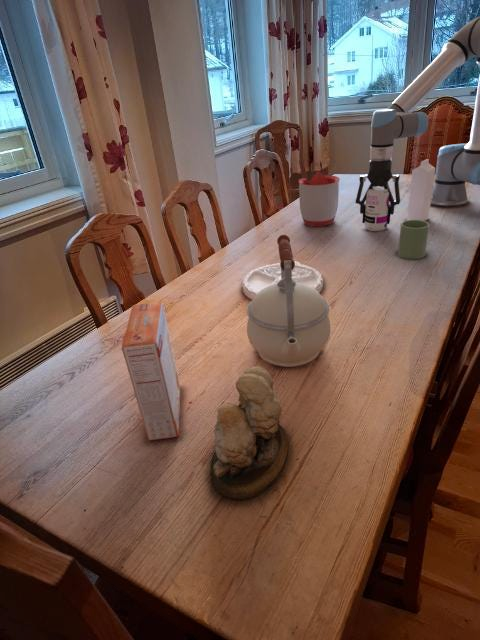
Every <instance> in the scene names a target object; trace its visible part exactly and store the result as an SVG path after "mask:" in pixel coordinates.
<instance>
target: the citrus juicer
mask: <svg viewBox="0 0 480 640" xmlns="http://www.w3.org/2000/svg"><path fill="white" fill-rule="evenodd" d="M298 184H299V185H298V187H299V188H298V192H299V194H298V195H299V196H298V197H299V210H300V214H301V218H302V221H303V222H304V224H305V225H307V226H310V227H314V228H315V227H322V226H329V225H332V224H333V223H334V221H335V219H336V215H337V212H338V207H339V192H340V191H339V190H340V189H339V188H340V177H338V176H336V175H329V174H324V173H323V172H321V171H317V172H316V173H315V174H314V175H313V176H312V178H311V180H310V181H308V179H307V178H305V177H302V178H299V179H298Z"/></svg>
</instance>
